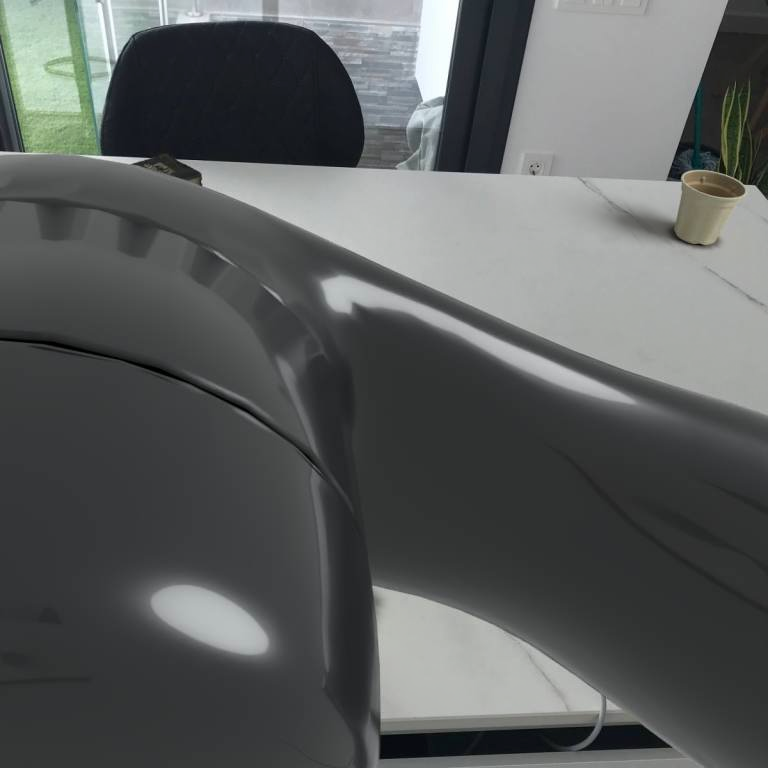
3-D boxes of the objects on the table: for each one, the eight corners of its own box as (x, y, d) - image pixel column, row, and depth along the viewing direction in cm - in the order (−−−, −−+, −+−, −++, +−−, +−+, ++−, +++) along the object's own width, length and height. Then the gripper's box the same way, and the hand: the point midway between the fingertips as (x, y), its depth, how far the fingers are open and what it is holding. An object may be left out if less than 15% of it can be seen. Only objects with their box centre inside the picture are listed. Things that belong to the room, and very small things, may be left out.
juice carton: (82, 256, 101) (74, 212, 97) (42, 228, 106) (33, 186, 102) (207, 211, 113) (204, 171, 109) (166, 189, 118) (161, 150, 114)
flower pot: (730, 232, 120) (751, 180, 115) (722, 258, 114) (744, 204, 108) (669, 215, 123) (686, 164, 118) (658, 240, 117) (676, 187, 111)
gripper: (32, 778, 27) (331, 531, 38) (-163, 554, 33) (145, 395, 44) (55, 864, 32) (317, 621, 43) (-120, 653, 38) (150, 487, 49)
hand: (229, 507), depth 44 cm, fingers open, 8 cm apart
